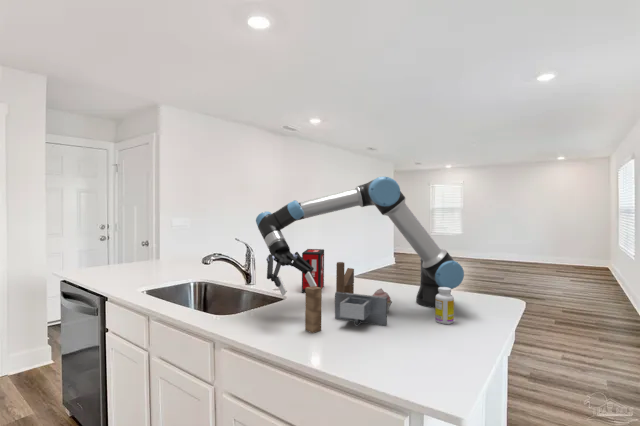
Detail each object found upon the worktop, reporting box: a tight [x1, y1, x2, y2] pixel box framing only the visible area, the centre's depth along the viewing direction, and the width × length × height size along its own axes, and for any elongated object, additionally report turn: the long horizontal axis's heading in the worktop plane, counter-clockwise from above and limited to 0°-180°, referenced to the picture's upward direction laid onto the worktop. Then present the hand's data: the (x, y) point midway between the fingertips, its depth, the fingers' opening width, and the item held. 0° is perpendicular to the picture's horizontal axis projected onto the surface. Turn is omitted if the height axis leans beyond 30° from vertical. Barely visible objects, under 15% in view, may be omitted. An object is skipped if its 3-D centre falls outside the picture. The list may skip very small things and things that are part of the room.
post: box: [304, 286, 323, 334], centre depth 128 cm, size 4×4×15 cm
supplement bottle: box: [434, 287, 455, 325], centre depth 138 cm, size 7×7×13 cm
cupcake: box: [371, 287, 393, 315], centre depth 149 cm, size 9×9×10 cm
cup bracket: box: [334, 291, 388, 327], centre depth 134 cm, size 20×11×10 cm, turn 66°
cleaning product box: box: [301, 248, 325, 294], centre depth 188 cm, size 16×9×20 cm, turn 172°
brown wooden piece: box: [335, 261, 355, 294], centre depth 168 cm, size 4×11×18 cm, turn 143°
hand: (300, 290), depth 132 cm, fingers open, 13 cm apart
